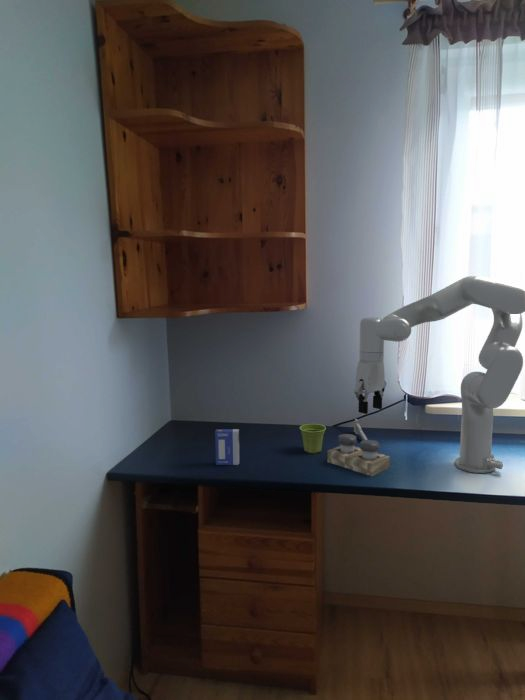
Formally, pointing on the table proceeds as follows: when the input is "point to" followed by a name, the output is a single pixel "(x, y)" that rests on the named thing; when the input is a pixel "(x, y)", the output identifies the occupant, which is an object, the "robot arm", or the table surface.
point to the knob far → (347, 443)
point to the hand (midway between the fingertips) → (370, 410)
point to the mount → (358, 461)
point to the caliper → (359, 430)
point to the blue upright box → (227, 446)
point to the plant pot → (312, 437)
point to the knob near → (369, 449)
